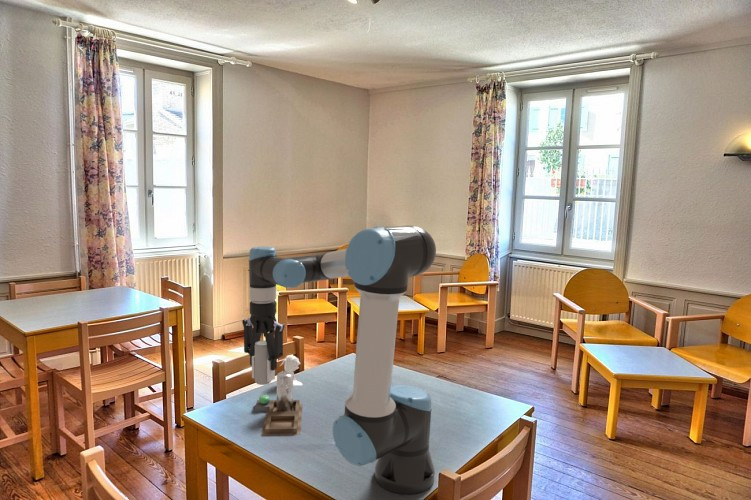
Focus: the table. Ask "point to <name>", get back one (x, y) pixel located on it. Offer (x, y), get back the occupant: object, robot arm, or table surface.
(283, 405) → the billet
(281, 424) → the pallet
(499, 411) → the table surface
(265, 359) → the beverage can
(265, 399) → the button
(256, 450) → the table surface
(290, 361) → the figurine
